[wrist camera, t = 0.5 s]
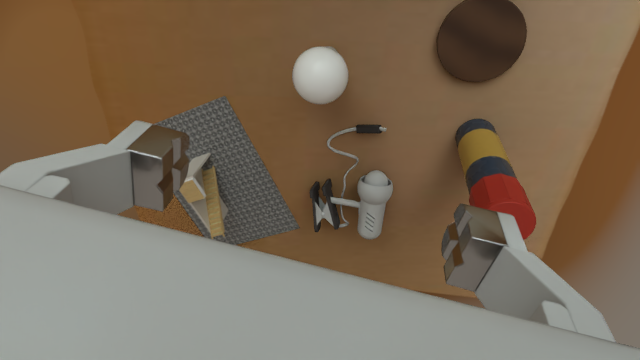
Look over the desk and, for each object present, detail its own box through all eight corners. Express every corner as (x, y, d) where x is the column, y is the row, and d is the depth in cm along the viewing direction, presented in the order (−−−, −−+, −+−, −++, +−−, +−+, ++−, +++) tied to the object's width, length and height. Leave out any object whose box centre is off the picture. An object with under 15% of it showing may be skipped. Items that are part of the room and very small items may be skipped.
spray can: (465, 113, 56) (486, 178, 43) (503, 124, 56) (536, 192, 43) (448, 146, 59) (464, 216, 46) (484, 157, 59) (510, 230, 46)
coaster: (457, -17, 48) (458, -16, 47) (541, 8, 48) (544, 10, 47) (424, 66, 54) (424, 69, 53) (499, 89, 54) (501, 91, 53)
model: (209, 152, 65) (189, 179, 59) (243, 205, 70) (228, 235, 64) (193, 158, 66) (171, 185, 60) (227, 210, 71) (210, 240, 65)
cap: (482, 167, 44) (491, 195, 40) (533, 182, 45) (548, 211, 40) (460, 207, 48) (466, 236, 43) (508, 221, 48) (519, 252, 43)
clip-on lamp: (322, 111, 62) (313, 221, 69) (312, 120, 56) (303, 239, 63) (403, 121, 60) (386, 234, 66) (401, 132, 54) (382, 254, 61)
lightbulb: (334, 88, 57) (323, 123, 48) (295, 59, 55) (276, 90, 46) (363, 50, 54) (357, 81, 44) (323, 19, 52) (308, 43, 43)
